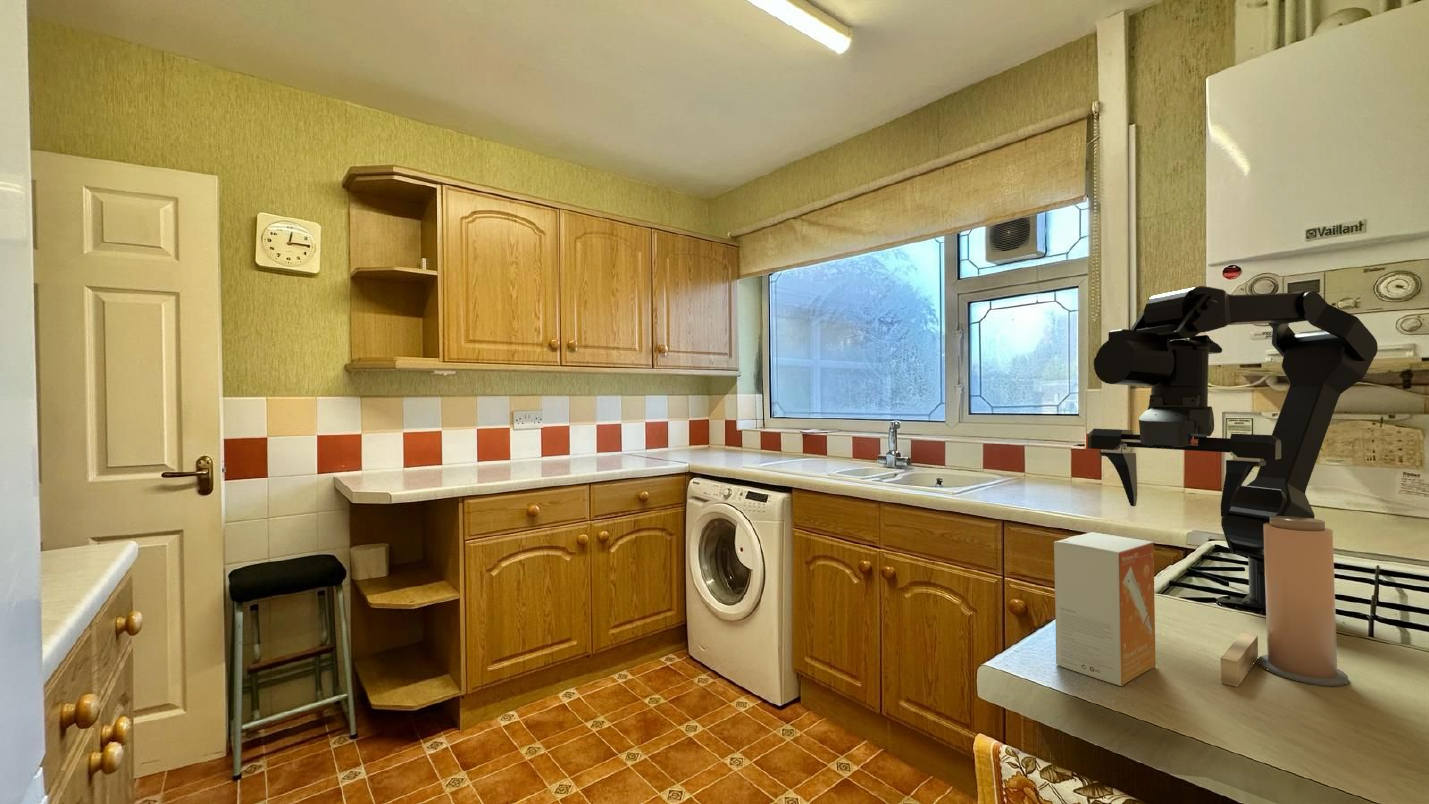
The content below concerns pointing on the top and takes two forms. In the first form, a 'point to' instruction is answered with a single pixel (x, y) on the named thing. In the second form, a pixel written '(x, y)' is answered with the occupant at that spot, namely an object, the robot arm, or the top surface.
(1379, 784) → the top surface
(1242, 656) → the block
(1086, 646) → the small box
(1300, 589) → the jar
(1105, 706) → the top surface
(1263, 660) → the coaster
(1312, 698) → the top surface
